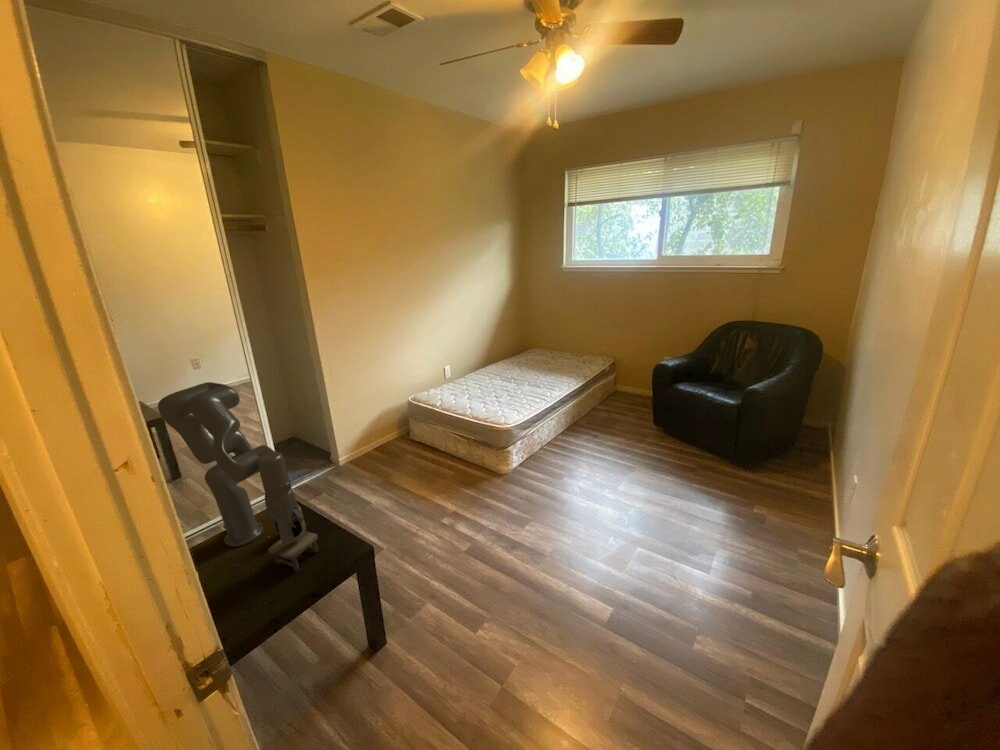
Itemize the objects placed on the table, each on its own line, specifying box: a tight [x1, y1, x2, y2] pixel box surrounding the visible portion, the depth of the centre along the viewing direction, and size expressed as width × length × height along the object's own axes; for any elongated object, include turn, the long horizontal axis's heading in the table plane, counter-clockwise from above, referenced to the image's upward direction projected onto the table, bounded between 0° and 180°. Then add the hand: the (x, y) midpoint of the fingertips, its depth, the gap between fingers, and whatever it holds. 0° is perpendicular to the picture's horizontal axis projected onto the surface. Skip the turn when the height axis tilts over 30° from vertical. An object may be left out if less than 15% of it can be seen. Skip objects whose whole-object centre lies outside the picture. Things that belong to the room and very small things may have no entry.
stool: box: [267, 530, 319, 572], centre depth 140 cm, size 11×11×7 cm
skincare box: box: [275, 514, 301, 546], centre depth 137 cm, size 6×4×12 cm
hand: (289, 531), depth 138 cm, fingers closed on skincare box, 6 cm apart
